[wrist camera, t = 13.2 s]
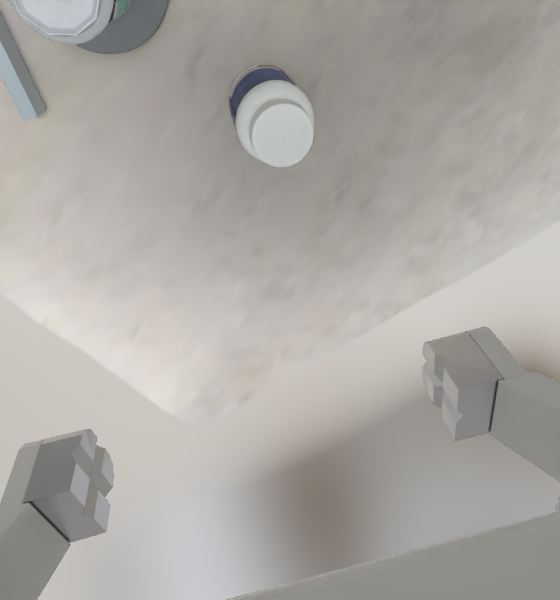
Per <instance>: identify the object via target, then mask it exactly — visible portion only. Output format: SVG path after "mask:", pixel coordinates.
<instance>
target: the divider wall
mask: <svg viewBox="0 0 560 600" xmlns="http://www.w3.org/2000/svg"><path fill="white" fill-rule="evenodd" d="M0 75H1V77H2V79H3V81H4V83H5V85H6V87H7V89H8V91H9V93H10V95H11V97H12V99H13V101H14V103H15V105H16V107H17V108H18V110H19V112H20V114H21V116H22V118H23V120H24V121H25V120H29V119H34V118H38V117H39V116H40V115H41V114H42V113H43V111H44V110H45V109H46V107H45V105H44V103H43V101H42V99H41V96H40V94H39V92H38V90H37V88H36V86H35V84H34V82H33V79H32V77H31V75H30V73H29V71H28V69H27V67H26V65H25V63H24V60H23V58H22V56H21V54H20V52H19V50H18V48H17V46H16V43H15V41H14V39H13V37H12V35H11V33H10V31H9V29H8V27H7V24H6V22H5V20H4V18H3V16H2V14H1V12H0Z"/></svg>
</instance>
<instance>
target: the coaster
mask: <svg viewBox="0 0 560 600" xmlns="http://www.w3.org/2000/svg"><path fill="white" fill-rule="evenodd" d="M167 2H168V0H131V3H130V6H129V8H128V9H127V10H126V12H125V13H124V14H123V15H121V16H120V17H119V18H117V19H116V20H114V21H112V22H110V23H109V24H108V25H107V26H106V27H105V28H104V29H103V31H102V32H101V33H100V34H98V35H97V36H96V37H94V38H93V39H92V40H90V41H87V42H85V43H81V44H76V45H77V46H79V47H82V48H84V49H87V50H90V51H94V52H97V53H105V54H116V53H122V52H126V51H129V50H132V49H134V48H136V47H138V46H140V45H141V44H143V43H144V42H145V41H147V40H148V39H149V38H150V37H151V36H152V35H153V33H154V32H155V31H156V29H157V28H158V26H159V24H160V22H161V21H162V18H163V16H164V13H165V11H166V6H167Z"/></svg>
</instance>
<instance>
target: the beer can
mask: <svg viewBox="0 0 560 600" xmlns="http://www.w3.org/2000/svg"><path fill="white" fill-rule="evenodd" d="M9 2H10V4H11V6H12V8H13V10H14V11H15V12H16V13H17V15H18V16H19V17H20V18H21V20H22V21H23V22H24V23H25V24H26V25H27V26H29V27H30V28H31V29H32V30H34V31H35V32H36V33H37V34H39V35H41V36H43V37H45V38H47V39H49V40H51V41H54V42H58V43H62V44H81V43H85V42H87V41H90V40H92V39H93V38H94V37H96V36H97V35H98V34H100V33H101V32H102V31H103V29H104V28H105V27H106V26H107V25H108V24H109V23H110V22H112V21H114V20H116V19H117V18H119V17H120V16H121V15H123V14H124V13H125V12H126V10H127V9H128V8H129V6H130V3H131V0H9Z"/></svg>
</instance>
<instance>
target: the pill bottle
mask: <svg viewBox="0 0 560 600" xmlns="http://www.w3.org/2000/svg"><path fill="white" fill-rule="evenodd" d="M229 105H230V111H231V115H232V118H233V122H234V125H235V128H236V132H237V135H238V138H239V140H240V142H241V144H242V145H243V147H244V148H245V150H246V151H247V152H248V153H249V154H250V155H252V156H253V157H254V158H256V159H258V160H260V161H263V162H265V163H267V164H269V165H271V166H275V167H288V166H291V165H294V164H296V163H297V162H299V161H300V160H302V159H303V158H304V157H305V156H306V154H307V153H308V151H309V150H310V148H311V145H312V142H313V137H314V125H315V117H314V111H313V108H312V105H311V103H310V101H309V99H308V98H307V96H306V95H305V94H304V93H303V92H302V90H301V89H300V88H299V87H298V86H297V85H296V84H295V83H294V82H293V81H292V80H291V79H290V78H289V76H288V75H287V74H285V73H284V72H283V71H282V70H281V69H279V68H277V67H275V66H273V65H269V64H257V65H254V66H251V67H249V68H247V69H245V70H244V71H243V72H242V73H240V74H239V75H238V77H237V78H236V79H235V81H234V83H233V85H232V87H231V91H230V95H229Z"/></svg>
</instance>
